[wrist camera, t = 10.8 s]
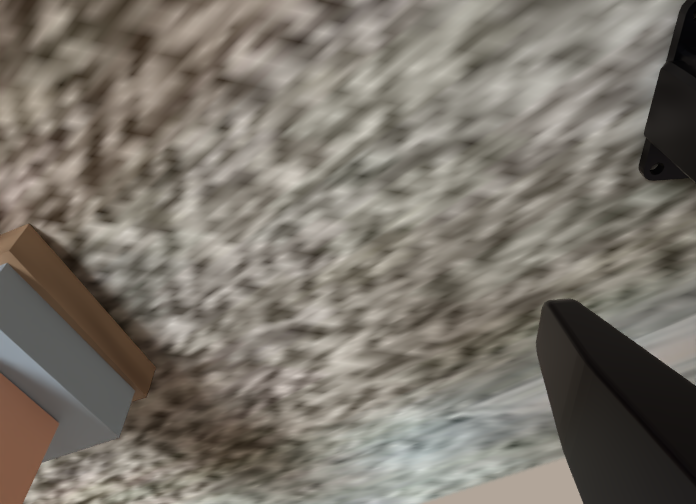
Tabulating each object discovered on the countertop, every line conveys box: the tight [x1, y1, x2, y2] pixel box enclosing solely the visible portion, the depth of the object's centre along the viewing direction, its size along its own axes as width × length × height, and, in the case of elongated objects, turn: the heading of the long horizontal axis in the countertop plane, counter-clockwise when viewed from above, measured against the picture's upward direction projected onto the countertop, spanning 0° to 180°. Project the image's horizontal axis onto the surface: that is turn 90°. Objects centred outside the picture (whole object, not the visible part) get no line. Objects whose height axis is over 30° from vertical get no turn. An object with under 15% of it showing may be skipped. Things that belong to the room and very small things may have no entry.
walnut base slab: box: [0, 224, 156, 402], centre depth 25 cm, size 9×9×2 cm
